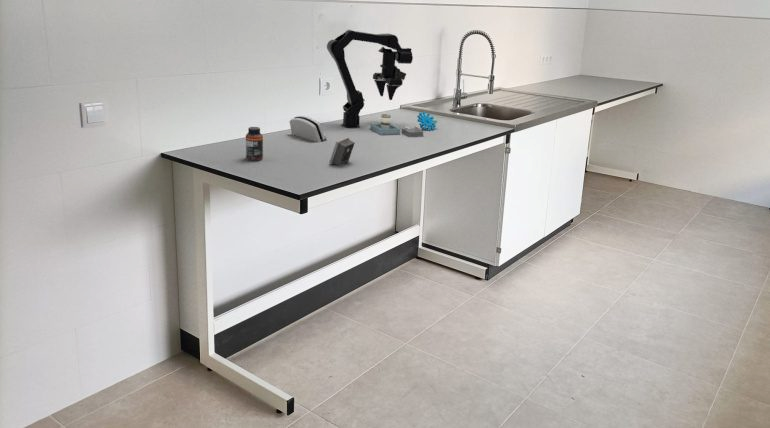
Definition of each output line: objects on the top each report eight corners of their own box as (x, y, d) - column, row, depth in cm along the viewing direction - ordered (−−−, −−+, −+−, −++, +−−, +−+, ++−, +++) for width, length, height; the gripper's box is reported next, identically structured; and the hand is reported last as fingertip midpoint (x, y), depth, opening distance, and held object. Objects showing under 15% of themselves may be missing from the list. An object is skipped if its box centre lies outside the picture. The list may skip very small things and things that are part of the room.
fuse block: (408, 137, 286) (409, 129, 285) (401, 133, 292) (402, 125, 291) (423, 136, 289) (423, 128, 288) (415, 132, 295) (416, 125, 294)
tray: (381, 135, 285) (381, 129, 285) (370, 129, 295) (370, 124, 294) (399, 134, 289) (400, 128, 289) (388, 129, 299) (388, 123, 298)
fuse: (382, 132, 289) (383, 116, 287) (378, 130, 293) (379, 114, 290) (391, 131, 291) (392, 116, 289) (387, 129, 294) (388, 114, 292)
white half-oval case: (327, 140, 269) (322, 118, 264) (319, 145, 266) (314, 123, 261) (300, 132, 279) (294, 111, 274) (292, 137, 277) (286, 116, 271)
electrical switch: (340, 159, 243) (343, 135, 240) (352, 162, 242) (356, 138, 238) (328, 164, 235) (331, 139, 231) (341, 168, 233) (345, 143, 230)
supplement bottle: (255, 156, 239) (255, 125, 235) (266, 159, 235) (266, 128, 231) (242, 158, 234) (242, 127, 231) (253, 162, 231) (253, 130, 227)
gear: (421, 128, 298) (416, 109, 301) (414, 135, 302) (409, 116, 306) (441, 130, 303) (435, 112, 307) (434, 137, 308) (429, 119, 312)
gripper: (414, 66, 290) (411, 101, 295) (395, 60, 305) (392, 94, 310) (391, 65, 285) (389, 102, 290) (373, 60, 300) (371, 94, 305)
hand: (386, 98), depth 299 cm, fingers open, 9 cm apart
